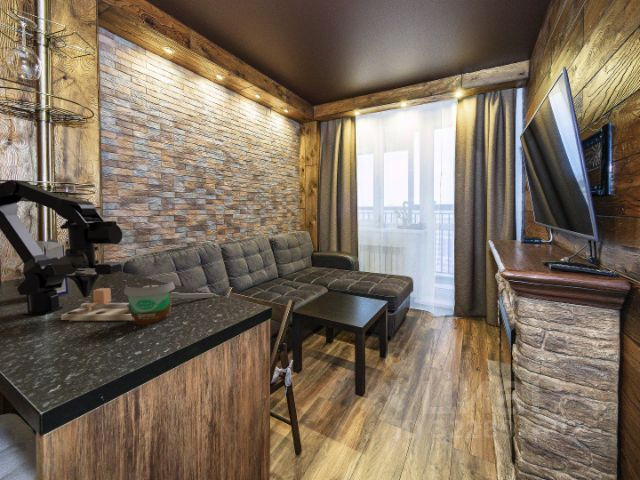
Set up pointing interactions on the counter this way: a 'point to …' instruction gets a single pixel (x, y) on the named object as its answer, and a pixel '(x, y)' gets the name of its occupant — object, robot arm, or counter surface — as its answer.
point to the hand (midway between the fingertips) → (86, 296)
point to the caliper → (191, 295)
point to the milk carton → (54, 250)
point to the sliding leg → (100, 297)
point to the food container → (150, 303)
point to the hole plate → (100, 312)
